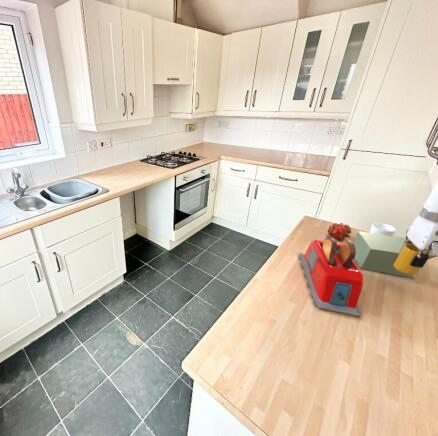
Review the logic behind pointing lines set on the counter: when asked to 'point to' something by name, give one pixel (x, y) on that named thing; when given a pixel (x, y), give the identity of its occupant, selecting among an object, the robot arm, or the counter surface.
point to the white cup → (382, 229)
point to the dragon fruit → (339, 231)
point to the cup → (407, 259)
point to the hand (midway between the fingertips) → (410, 259)
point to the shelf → (378, 252)
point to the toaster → (333, 275)
